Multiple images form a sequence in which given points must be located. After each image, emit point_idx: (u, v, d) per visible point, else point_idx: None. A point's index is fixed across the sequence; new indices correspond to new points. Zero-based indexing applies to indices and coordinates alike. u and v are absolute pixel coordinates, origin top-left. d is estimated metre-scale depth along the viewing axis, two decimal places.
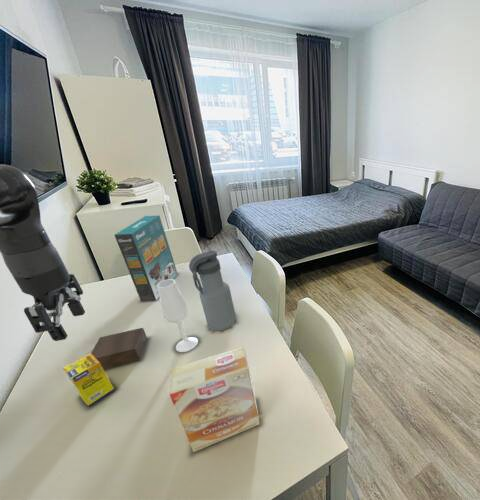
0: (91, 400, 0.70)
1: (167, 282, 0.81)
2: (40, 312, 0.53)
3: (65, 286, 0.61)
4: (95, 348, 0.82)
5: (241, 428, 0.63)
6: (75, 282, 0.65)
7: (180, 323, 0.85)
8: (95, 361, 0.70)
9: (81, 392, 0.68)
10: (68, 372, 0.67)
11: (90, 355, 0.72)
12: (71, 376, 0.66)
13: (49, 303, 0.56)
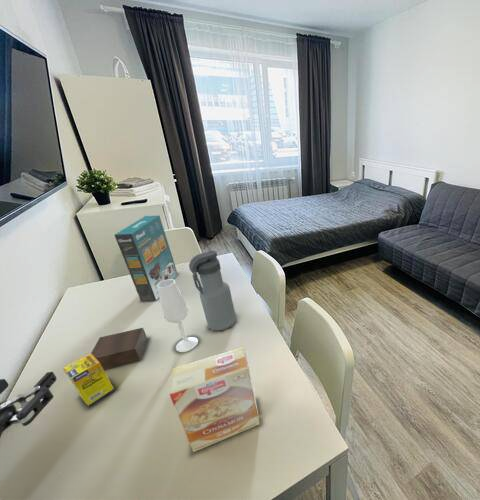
0: (91, 400, 0.70)
1: (167, 282, 0.81)
2: None
3: None
4: (95, 348, 0.82)
5: (241, 428, 0.63)
6: None
7: (180, 323, 0.85)
8: (95, 361, 0.70)
9: (81, 392, 0.68)
10: (68, 372, 0.67)
11: (90, 355, 0.72)
12: (71, 376, 0.66)
13: None
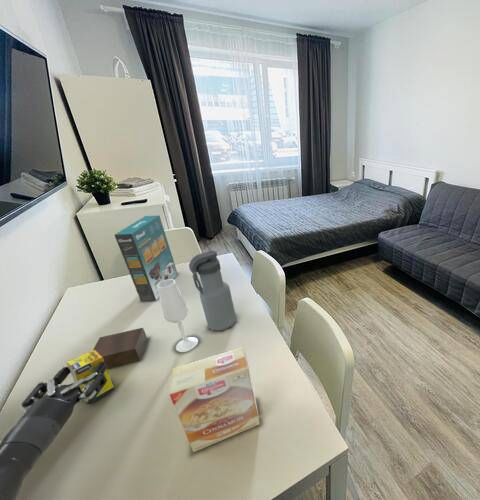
0: None
1: (167, 282, 0.81)
2: None
3: None
4: (95, 348, 0.82)
5: (241, 428, 0.63)
6: None
7: (180, 323, 0.85)
8: (98, 356, 0.71)
9: (81, 387, 0.68)
10: (71, 365, 0.68)
11: (94, 351, 0.73)
12: (74, 369, 0.67)
13: None
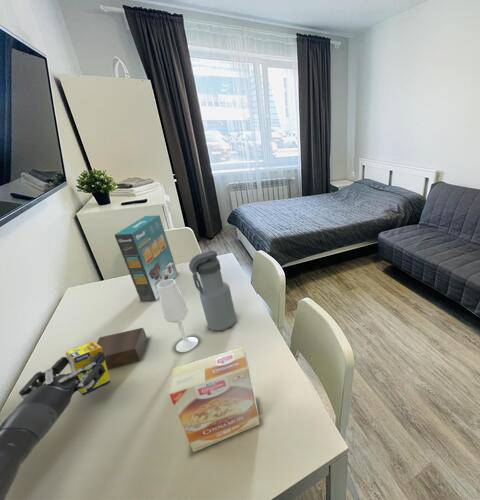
0: None
1: (167, 282, 0.81)
2: None
3: None
4: None
5: (241, 428, 0.63)
6: None
7: (180, 323, 0.85)
8: (97, 346, 0.71)
9: (78, 376, 0.68)
10: (70, 354, 0.68)
11: (93, 342, 0.73)
12: (73, 357, 0.67)
13: None
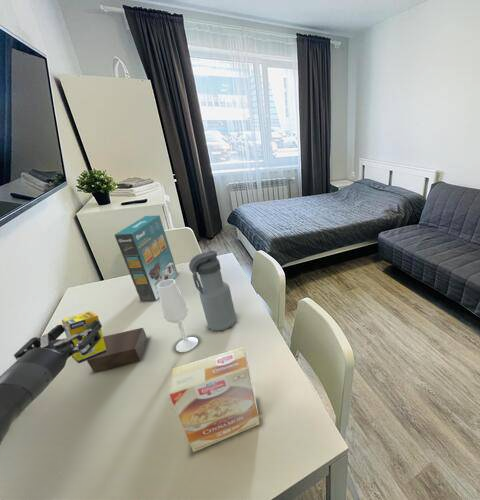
0: (82, 356, 0.69)
1: (167, 282, 0.81)
2: None
3: None
4: None
5: (241, 428, 0.63)
6: None
7: (180, 323, 0.85)
8: (93, 314, 0.71)
9: (74, 343, 0.67)
10: (66, 321, 0.68)
11: (89, 312, 0.73)
12: (68, 323, 0.67)
13: None
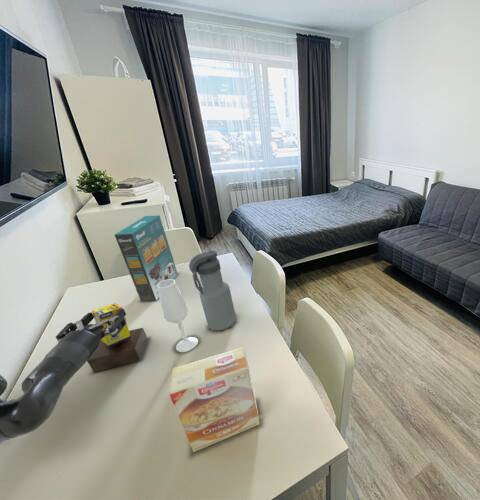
0: (111, 341, 0.80)
1: (167, 282, 0.81)
2: None
3: None
4: None
5: (241, 428, 0.63)
6: None
7: (180, 323, 0.85)
8: (118, 306, 0.82)
9: None
10: (96, 312, 0.79)
11: (114, 303, 0.84)
12: (98, 314, 0.78)
13: None
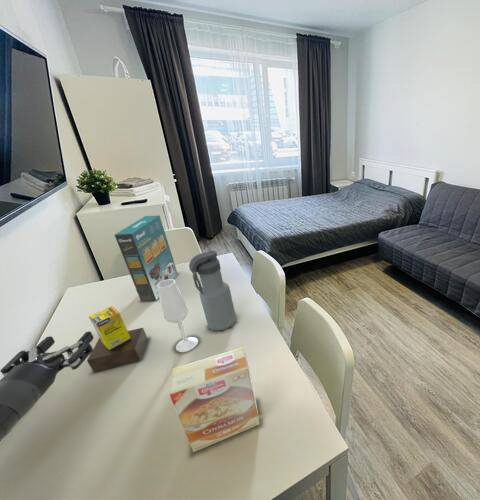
0: (111, 345, 0.81)
1: (167, 282, 0.81)
2: None
3: None
4: (95, 348, 0.82)
5: (241, 428, 0.63)
6: None
7: (180, 323, 0.85)
8: (115, 311, 0.81)
9: (103, 337, 0.78)
10: (93, 319, 0.78)
11: (111, 307, 0.83)
12: (95, 322, 0.77)
13: None
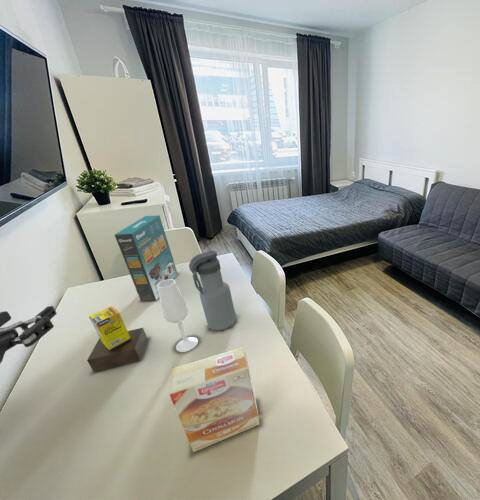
0: (111, 345, 0.81)
1: (167, 282, 0.81)
2: None
3: None
4: (95, 348, 0.82)
5: (241, 428, 0.63)
6: None
7: (180, 323, 0.85)
8: (115, 311, 0.81)
9: (103, 337, 0.78)
10: (93, 319, 0.78)
11: (111, 307, 0.83)
12: (95, 322, 0.77)
13: None
